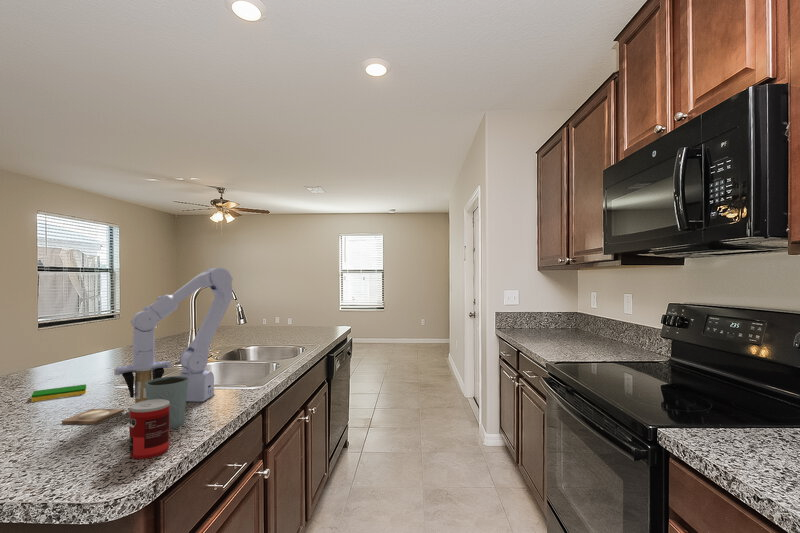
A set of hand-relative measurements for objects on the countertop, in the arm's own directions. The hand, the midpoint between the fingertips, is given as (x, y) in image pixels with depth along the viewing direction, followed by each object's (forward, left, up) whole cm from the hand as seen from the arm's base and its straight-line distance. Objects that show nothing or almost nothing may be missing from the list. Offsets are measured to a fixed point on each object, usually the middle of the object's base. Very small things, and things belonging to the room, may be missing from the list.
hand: (143, 394), depth 124 cm
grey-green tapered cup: (-16, +13, -4) cm, 21 cm away
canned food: (-23, +30, -4) cm, 38 cm away
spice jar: (0, 0, -4) cm, 4 cm away
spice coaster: (+8, +9, -4) cm, 13 cm away
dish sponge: (+37, -11, -5) cm, 39 cm away
